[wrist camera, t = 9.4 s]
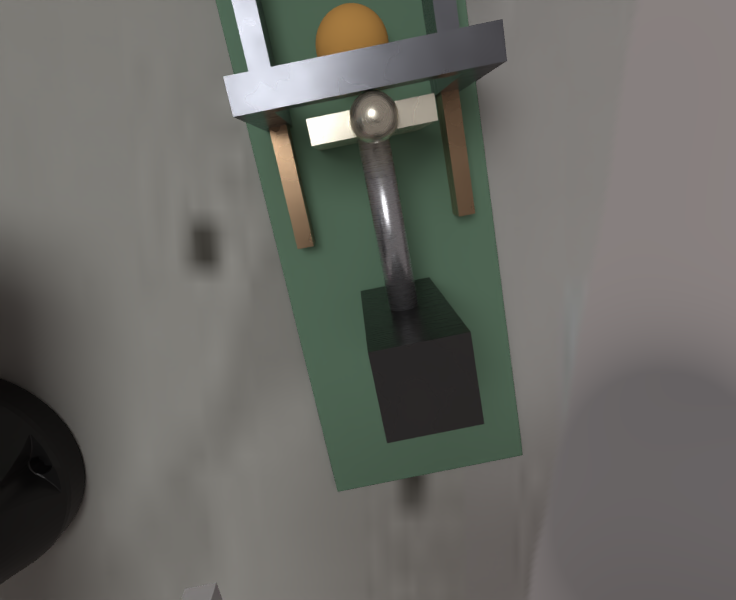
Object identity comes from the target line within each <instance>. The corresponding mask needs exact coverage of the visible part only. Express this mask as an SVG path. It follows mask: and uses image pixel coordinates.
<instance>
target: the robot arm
mask: <svg viewBox="0 0 736 600" xmlns="http://www.w3.org/2000/svg"><path fill="white" fill-rule="evenodd" d="M84 485H85V475H84V466H83V462H82V458H81V454H80V451H79V449H78V447H77V444H76V442H75V440H74V438H73V436H72V435H71V433H70V432H69V430H68V429H67V427H66V426H65V424H64V423H63V422H62V421H61V420H60V418H59V417H58V416H57V415H56V414H55V413H54V412H53V411H52V410H51V409H50V408H49V407H48V406H47V405H45V404H44V403H43V402H42V401H40V400H39V399H38V398H36V397H35V396H33V395H32V394H30V393H29V392H27V391H25V390H24V389H22V388H20V387H18V386H16V385H14V384H12V383H9V382H7V381H4V380H2V379H0V584H2V583H3V582H4V581H6V580H7V579H9V578H10V577H12V576H13V575H15V574H16V573H18V572H19V571H21V570H22V569H24V568H25V567H27V566H28V565H30V564H31V563H33V562H34V561H36V560H37V559H38V558H39V557H41V556H42V555H43V554H44V553H45V552H46V551H47V550H48V549H49V548H50V547H51V546H52V545H53V544H54V543H55V542H56V540H57V539H58V538H59V537H60V535H61V534H62V533H63V531H64V530H65V529H66V528H67V526H68V525H69V524H70V522H71V521H72V520H73V518H74V517H75V515H76V513H77V511H78V509H79V507H80V504H81V501H82V498H83V493H84ZM181 600H222V597H221V594H220V591H219V589H218V586H217V583H211V584H206V585H201V586H196V587H191V588H186V589H185V590H184V592H183V595H182V598H181Z"/></svg>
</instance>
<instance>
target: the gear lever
mask: <svg viewBox="0 0 736 600" xmlns="http://www.w3.org/2000/svg"><path fill="white" fill-rule="evenodd" d="M306 121H307V126H308V131H309V135H310V140H311V145H312V146H313V147H314V148H316V149H318V150H319V151H321V150H326V149H331V148H336V147H341V146H345V145H350V144H355V143H358V146H359V151H360V156H361V161H362V167H363V172H364V177H365V182H366V187H367V193H368V198H369V203H370V208H371V214H372V219H373V224H374V229H375V234H376V240H377V245H378V250H379V255H380V260H381V266H382V271H383V276H384V281H385V286H383V287H378V288H373V289H368V290H363V291H360V292H361V300H362V308H363V317H364V325H365V333H366V341H367V350H368V356H369V360H370V365H371V370H372V375H373V379H374V384H375V389H376V394H377V398H378V403H379V408H380V413H381V417H382V422H383V427H384V432H385V436H386V441H387V443H392V442H397V441H402V440H407V439H412V438H417V437H422V436H427V435H432V434H437V433H442V432H447V431H452V430H457V429H462V428H467V427H472V426H477V425H482V424H484V418H483V411H482V404H481V398H480V391H479V384H478V377H477V370H476V364H475V357H474V350H473V343H472V337H471V332H470V330H469V329H468V328H467V326H466V325H465V324H464V322H463V321H462V320H461V318H460V317H459V316H458V314H457V313H456V312H455V310H454V309H453V308H452V306H451V305H450V304H449V302H448V301H447V300H446V299H445V297H444V296H443V295H442V293H441V292H440V291H439V289H438V288H437V287H436V285H435V284H434V283H433V281H432V280H431V279H430V277H428V278H423V279H418V280H414V276H413V270H412V264H411V259H410V253H409V247H408V242H407V236H406V230H405V224H404V219H403V213H402V207H401V202H400V196H399V190H398V184H397V179H396V173H395V167H394V162H393V156H392V150H391V144H390V139H389V138H390V137H391V136H394V135H399V134H404V133H409V132H414V131H417V130H420V129H422V128H424V127H426V126H428V125H430V124H432V123H434V122H436V121H438V116H437V109H436V102H435V95H434V93H432V94H427V95H422V96H417V97H412V98H407V99H402V100H397V101H394V100H393V99H392V98H391V97H390V96H389V95H387V94H386V93H384V92H381V91H377V90H371V91H367V92H364V93H362V94H361V95H359V96H358V97H357V98H356V99H355V100H354V102H353V103H352V105H351V108H350V110H349V111H344V112H339V113H334V114H329V115H324V116H319V117H314V118H309V119H306Z"/></svg>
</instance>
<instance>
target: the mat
mask: <svg viewBox="0 0 736 600" xmlns="http://www.w3.org/2000/svg"><path fill="white" fill-rule="evenodd" d="M261 3H262V8H263V12H264V16H265V21H266V25H267V30H268V34H269V39H270V43H271V47H272V52H273V56H274V61H275V65H276V66H277V65H282V64H287V63H292V62H297V61H302V60H307V59H311V58H316V57H317V53H316V44H315V43H316V34H317V30H318V27H319V25H320V23H321V21H322V20H323V18H324V17H325V16H326V14H327V13H328V12H329V11H331V10H332V9H333V8H335V7H337V6H339V5H342V4H346V3H357V4H361V5H364V6H366V7H368V8H370V9H371V10H373V11H374V12H375V13H376V14H377V15H378V16H379V17H380V19H381V20H382V22H383V24H384V26H385V28H386V31H387V34H388V40H389V42H394V41H399V40H404V39H409V38H413V37H418V36H423V35H426V28H425V22H424V15H423V8H422V1H421V0H261ZM216 4H217V8H218V12H219V16H220V20H221V24H222V28H223V32H224V36H225V40H226V44H227V48H228V52H229V56H230V60H231V64H232V68H233V72H234V74H239V73H243V72H248V67H247V63H246V59H245V55H244V50H243V46H242V42H241V38H240V34H239V30H238V26H237V21H236V17H235V13H234V9H233V5H232V1H231V0H216ZM456 4H457V12H458V19H459V27H460V28H462V27H467V26H469V25H468V18H467V10H466V2H465V0H456ZM381 92H384V93H386V94H387V95H389V96H390V97H391V98H392V99H393V100H394V101H397V100H402V99H407V98H412V97H417V96H422V95H427V94H432V92H431V85H430V81H425V82H420V83H415V84H410V85H405V86H400V87H395V88H391V89H386V90H381ZM358 96H359V95H356V96H351V97H347V98H342V99H337V100H332V101H327V102H322V103H317V104H312V105H308V106H303V107H298V108H293V109H289V112H290V116H291V121H292V125H293V126H292V127H290V131H291V136H292V140H293V145H294V149H295V153H296V158H297V162H298V167H299V171H300V175H301V180H302V184H303V189H304V193H305V198H306V202H307V206H308V211H309V215H310V220H311V224H312V228H313V233H314V237H315V244H314V246H312V247H307V248H302V249H297V244H296V240H295V236H294V232H293V228H292V223H291V219H290V215H289V211H288V207H287V202H286V198H285V194H284V190H283V185H282V181H281V177H280V173H279V169H278V164H277V160H276V156H275V152H274V148H273V143H272V139H271V135H270V131H268V132H267V131H264V130H262V129H260V128H257V127H255V126H253V125H251V124H248V123H246V124H247V128H248V132H249V137H250V141H251V145H252V149H253V153H254V157H255V161H256V165H257V169H258V173H259V177H260V181H261V185H262V189H263V193H264V197H265V201H266V205H267V209H268V213H269V217H270V221H271V225H272V229H273V233H274V237H275V241H276V245H277V249H278V253H279V257H280V261H281V265H282V269H283V273H284V277H285V281H286V285H287V289H288V293H289V297H290V301H291V305H292V309H293V314H294V318H295V322H296V326H297V330H298V334H299V338H300V342H301V346H302V350H303V354H304V358H305V362H306V366H307V370H308V374H309V378H310V382H311V386H312V390H313V394H314V398H315V402H316V406H317V410H318V414H319V418H320V422H321V426H322V430H323V434H324V438H325V442H326V446H327V450H328V454H329V458H330V462H331V466H332V470H333V474H334V478H335V482H336V486H337V490H338V492H339V491H344V490H349V489H354V488H359V487H364V486H369V485H374V484H379V483H384V482H389V481H394V480H399V479H404V478H409V477H414V476H419V475H424V474H429V473H435V472H440V471H445V470H450V469H455V468H460V467H465V466H470V465H475V464H480V463H485V462H490V461H495V460H500V459H505V458H510V457H515V456H520V455H523V454H522V446H521V438H520V430H519V422H518V414H517V406H516V398H515V390H514V383H513V375H512V367H511V359H510V351H509V343H508V335H507V327H506V319H505V311H504V303H503V295H502V287H501V279H500V271H499V264H498V256H497V248H496V240H495V232H494V224H493V216H492V208H491V200H490V192H489V184H488V176H487V168H486V160H485V152H484V144H483V137H482V129H481V121H480V113H479V105H478V97H477V89H476V81H475V82H474V83H472V84H471V85H469V86H468V87H466V88H465V89H463V90H461V91H460V92H459V96H460V103H461V111H462V118H463V126H464V133H465V140H466V148H467V155H468V163H469V170H470V177H471V185H472V192H473V200H474V207H475V214H470V215H465V216H460V217H459V216H457V215H454V214H453V211H452V205H451V198H450V191H449V184H448V177H447V171H446V164H445V157H444V150H443V144H442V137H441V130H440V123H439V116H438V110H437V116H438V121H436V122H434V123H432V124H430V125H428V126H426V127H424V128H422V129H420V130H417V131H414V132H409V133H404V134H399V135H394V136H391V137H390V138H389V139H390V144H391V150H392V156H393V162H394V167H395V173H396V179H397V184H398V190H399V196H400V202H401V207H402V213H403V219H404V224H405V230H406V236H407V242H408V247H409V253H410V259H411V264H412V270H413V276H414V280H418V279H423V278H428V277H430V279H431V280H432V281H433V283H434V284H435V285H436V287H437V288H438V289H439V291H440V292H441V293H442V295H443V296H444V297H445V299H446V300H447V301H448V302H449V304H450V305H451V306H452V308H453V309H454V310H455V312H456V313H457V314H458V316H459V317H460V318H461V320H462V321H463V322H464V324H465V325H466V326H467V328H468V329H469V330H470V332H471V337H472V343H473V350H474V357H475V364H476V370H477V377H478V384H479V391H480V398H481V404H482V411H483V418H484V424H482V425H477V426H472V427H467V428H462V429H457V430H452V431H447V432H442V433H437V434H432V435H427V436H422V437H417V438H412V439H407V440H402V441H397V442H392V443H387V441H386V436H385V432H384V427H383V422H382V417H381V413H380V408H379V403H378V398H377V394H376V389H375V384H374V379H373V375H372V370H371V365H370V360H369V356H368V350H367V341H366V333H365V325H364V317H363V308H362V300H361V292H360V291H363V290H368V289H373V288H378V287H383V286H385V281H384V276H383V271H382V266H381V260H380V255H379V250H378V245H377V240H376V234H375V229H374V224H373V219H372V214H371V208H370V203H369V198H368V193H367V187H366V182H365V177H364V172H363V167H362V161H361V156H360V151H359V146H358V143H355V144H350V145H345V146H341V147H336V148H331V149H326V150H321V151H319V150H318V149H316V148H314V147H313V146H312V145H311V140H310V135H309V131H308V126H307V121H306V119H309V118H314V117H319V116H324V115H329V114H334V113H339V112H344V111H349V110H350V108H351V105H352V103H353V102H354V100H355V99H356V98H357V97H358ZM435 102H436V97H435ZM436 109H437V103H436Z"/></svg>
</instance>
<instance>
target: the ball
mask: <svg viewBox="0 0 736 600" xmlns="http://www.w3.org/2000/svg"><path fill="white" fill-rule="evenodd" d="M384 43H389V40H388V34H387V31H386V28H385V26H384V24H383V22H382V20H381V19H380V17H379V16H378V15H377V14H376V13H375V12H374V11H373V10H371V9H370V8H368V7H366V6H364V5H361V4H357V3H346V4H342V5H339V6H337V7H335V8H333V9H332V10H331V11H329V12H328V13H327V14H326V16H325V17H324V18H323V20H322V21H321V23H320V25H319V27H318V30H317V34H316V43H315V44H316V53H317V57H321V56H326V55H331V54H336V53H341V52H345V51H350V50H355V49H360V48H365V47H370V46H375V45H379V44H384Z"/></svg>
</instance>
